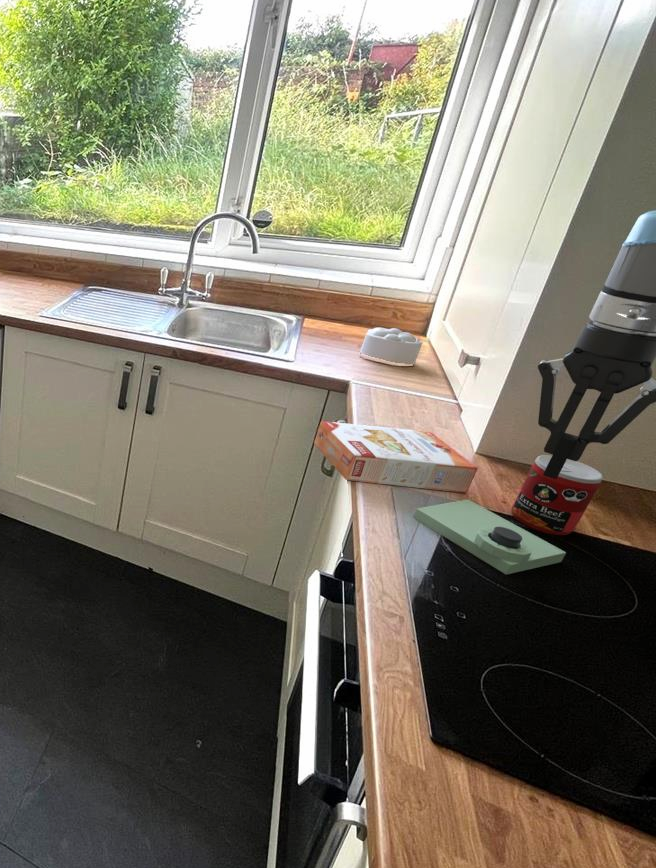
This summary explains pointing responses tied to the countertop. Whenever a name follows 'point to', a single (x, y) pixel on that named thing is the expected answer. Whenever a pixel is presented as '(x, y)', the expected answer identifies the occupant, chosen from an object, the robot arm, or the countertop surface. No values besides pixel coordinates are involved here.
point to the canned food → (556, 496)
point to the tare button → (506, 537)
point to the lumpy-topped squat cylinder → (391, 345)
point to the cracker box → (394, 457)
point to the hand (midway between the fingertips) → (550, 474)
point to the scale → (487, 536)
